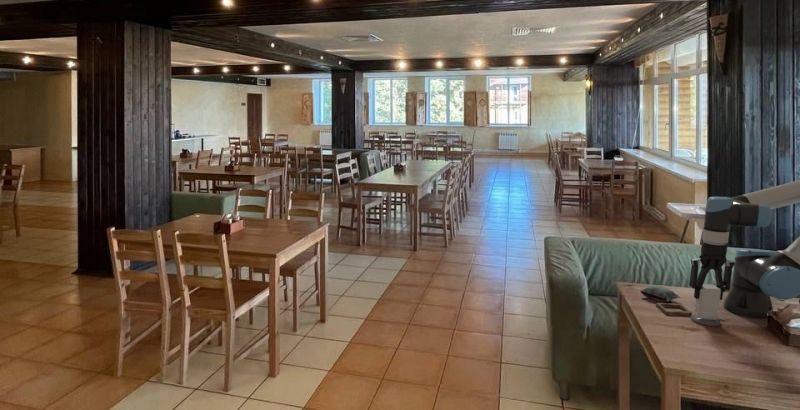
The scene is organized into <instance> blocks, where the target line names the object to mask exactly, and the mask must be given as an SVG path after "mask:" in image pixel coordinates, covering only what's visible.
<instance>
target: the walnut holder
mask: <svg viewBox="0 0 800 410" xmlns="http://www.w3.org/2000/svg"><path fill="white" fill-rule="evenodd" d="M655 307H656V308H657V309H658V310H660V311H661V313H663V314H664V315H666V316H685V317H686V316H687V317H691V315H693V312H692V311H690V310H689V309H688V308H687V307H685V305H683V304H682V303H669V302H655ZM666 308H670V309H671V308H674V309H675V308H676V309H677V308H678V309H679V310H680V311H678V310H668V309H666ZM682 310H683V311H682Z"/></svg>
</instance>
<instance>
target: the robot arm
mask: <svg viewBox="0 0 800 410" xmlns="http://www.w3.org/2000/svg"><path fill="white" fill-rule="evenodd" d="M798 203H800V179H799V180H794V181H790V182H787V183H783V184H779V185H775V186H772V187H767V188H764V189H760V190H755V191H753V192H748V193H745V194H741V195H736V196H733V197H731V196H710V197H708V199H707V201H706V205H705V209H704V210H705V213H704V221H703V230H702V231H703V232H702V239H701V240H702V242H701V245H700V246H701V247H700V248H701V249H700V254H699V257H697V258H695V259H694V258H691V259H690V263H691V267H690V276H689V283H688V285H689V287H691V288H692V289H694V292H693V297H694V298H695V304H694V306H695V308H696V307H697V308H698V309H701V306H702V297H703V290H701V288H702V286H703V284H705V280H706V279H707V276H708V273H709V272H710V271H711V270H713V271H714V276H715V283H716V287H718V288H720V289H721V291H720V299H719V303H720V301H722V300H723V297H724V296H723V295H724V293H725V292H726V291H727V290H728V293H727V295H726V297H725V298H724V302H723V307H724V309H725V310H727V311H729V312H731V313H733V314H737V315H740V316H744V317H745V316H746V317H750V318H751V317H752V318H762V319H763V318H768V317H767V313H768V311H773V312H774V307H773V303H772V299H771V298H774V299H777V300H792V299H795V298H796V297H798V296H800V235H799V236H798V237H797V238H796V239H795V240H794V241H793V242H792V243H790V245H789V246H787V248H785V249H782V250H781V249H780V250H776V251H775V252H774V251H773V250H767V249H759V248H739V249H738V250H736V253H735V256H734V261H732V260H729V259H727V253H728V243H729V236H730V230H731V227H748V228H749V227H751V228H765V227H766V228H767V226H769V224H771V222H772V218H773V212H772V210H775V209H779V208H782V207H786V206H790V205H794V204H795V205H796V204H798ZM700 263H701V266H700V271H699V265H700ZM723 266H724V271H723V268H722V267H723ZM722 272H723V273H722ZM731 280H732V281H731ZM719 308H720V306H719V307H718V311H719Z"/></svg>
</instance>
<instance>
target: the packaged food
mask: <svg viewBox="0 0 800 410" xmlns="http://www.w3.org/2000/svg"><path fill="white" fill-rule="evenodd" d="M639 292H640V294H642V295H643V296H644V297H646V298H648V299H652V300H655V301H657V302H659V303H669V302H670V301H672V300H675V299H681V296H680V295H678V294H676V293H675V292H674V291H673V290H671V289H669V288H665V287H662V286H660V285H652V284H651V285H649V286H647V287H646V288H644V289H642V290H640V291H639Z"/></svg>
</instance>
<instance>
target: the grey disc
mask: <svg viewBox="0 0 800 410" xmlns="http://www.w3.org/2000/svg"><path fill="white" fill-rule="evenodd" d="M690 320H691V321H692V322H693V323H695V324H698V325H701V326H707V327H718V326H720V325H721V320H720V319H719V318H718V317H702V316H701V315H699V314H698V313H697V314H696V313H694V314H693V313H692V315H691V316H690Z"/></svg>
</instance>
